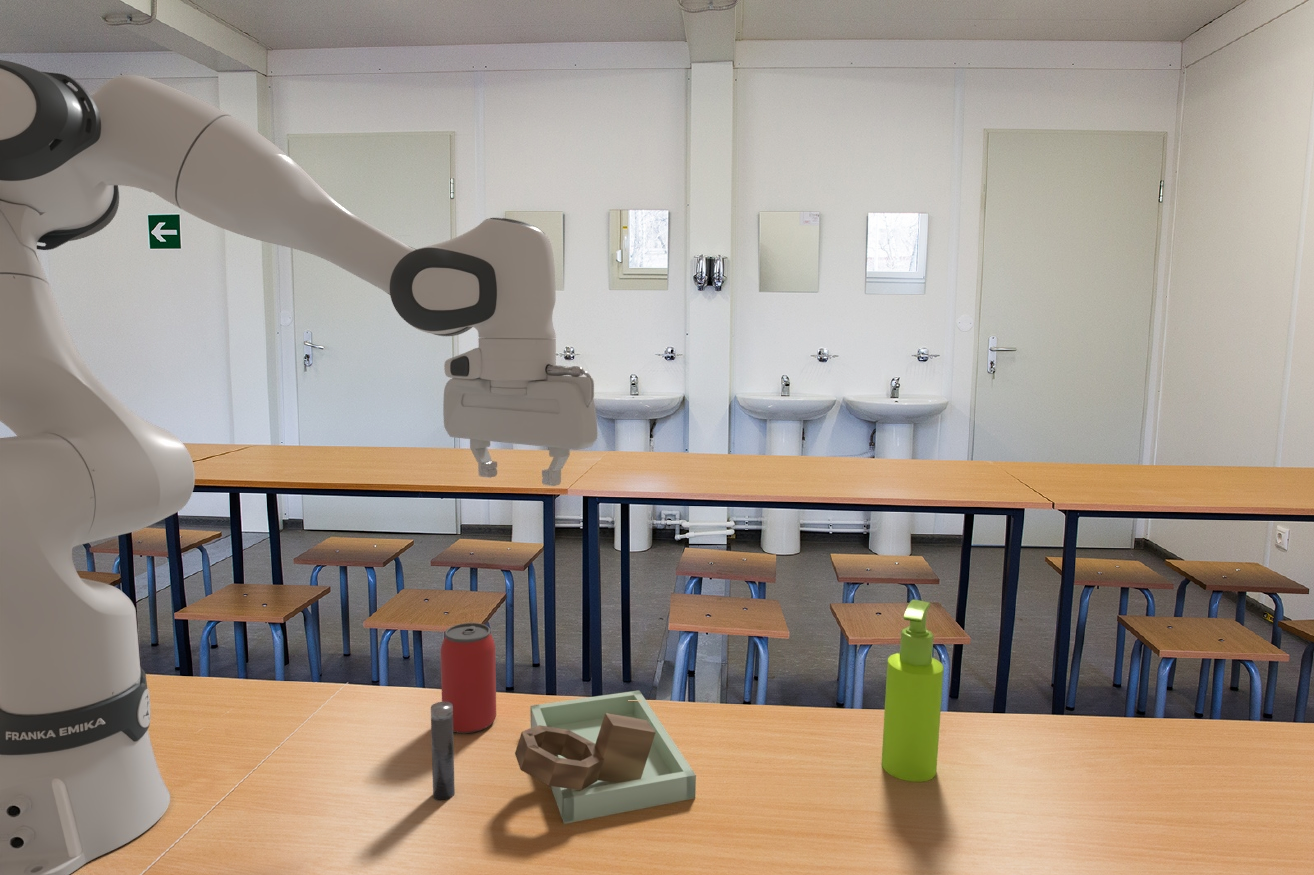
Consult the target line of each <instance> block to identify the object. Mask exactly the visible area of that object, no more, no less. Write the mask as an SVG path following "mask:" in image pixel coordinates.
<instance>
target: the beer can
mask: <svg viewBox="0 0 1314 875" xmlns="http://www.w3.org/2000/svg"><path fill="white" fill-rule="evenodd" d="M492 635H493V634H492V629H491V627H489V626H488V625H486V624H484V623H479V622H464V623H458V624H455V625H452V626H450V627H449V628H447V629H445V631H444V637H443V641H442V643H441V646H440V678H441V679H440V680H441V683H440V685H441V702H450V703H452V705H453V733H458V734H459V733H460V734H471V733H476V732H480V731H483V730H485V729H486V728H488V727H490V726H491V725H492V724H493V723H494V722H495V721H496V717H497V680H496V679H497V677H496V676H497V674H496V669H497V668H496V665H497V664H496V662H497V660H496V644H495V641H494V638H493V636H492Z"/></svg>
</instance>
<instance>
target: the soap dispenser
mask: <svg viewBox="0 0 1314 875" xmlns="http://www.w3.org/2000/svg"><path fill="white" fill-rule="evenodd" d="M930 607H931V602H929V601H925V600H918V599H912V600H910V602H909V603H908V605H907V607H906V609H905V612H904V615H903V617H902V618H903V620H904V621H908V622H909V626H907V627H904V628H902V629H901V632H900V646H899V652H896V653H893V654H891V655H889V656H888V658H887V666H886V667H887V668H886V683H885V698H884V701H885V702H884V716H883V729H882V731H883V732H882V746H881V747H882V750H881V766H882V767H881V768H882V769H883V770H884V771H885V772H886V773H888V775H890V776H891V777H894V778H896V779H900V780H901V781H902V780H903V781H906V782H914V783H918V782H919V783H921V782H922V783H923V782H927V781H931V779H933V778H935V777H936V775H937V765H938V755H939V753H938V752H939V751H938V750H939V738H940V737H939V736H940V724H941V711H942V710H941V709H942V698H943V697H942V695H943V681H944V680H943V679H944V665H943V664H942V662H941V661H939V660H938V659H936V658H934V657H933V646H934V633H933V632H932V631H931V630H929V629H927V616H928V611H929V610H930Z"/></svg>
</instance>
